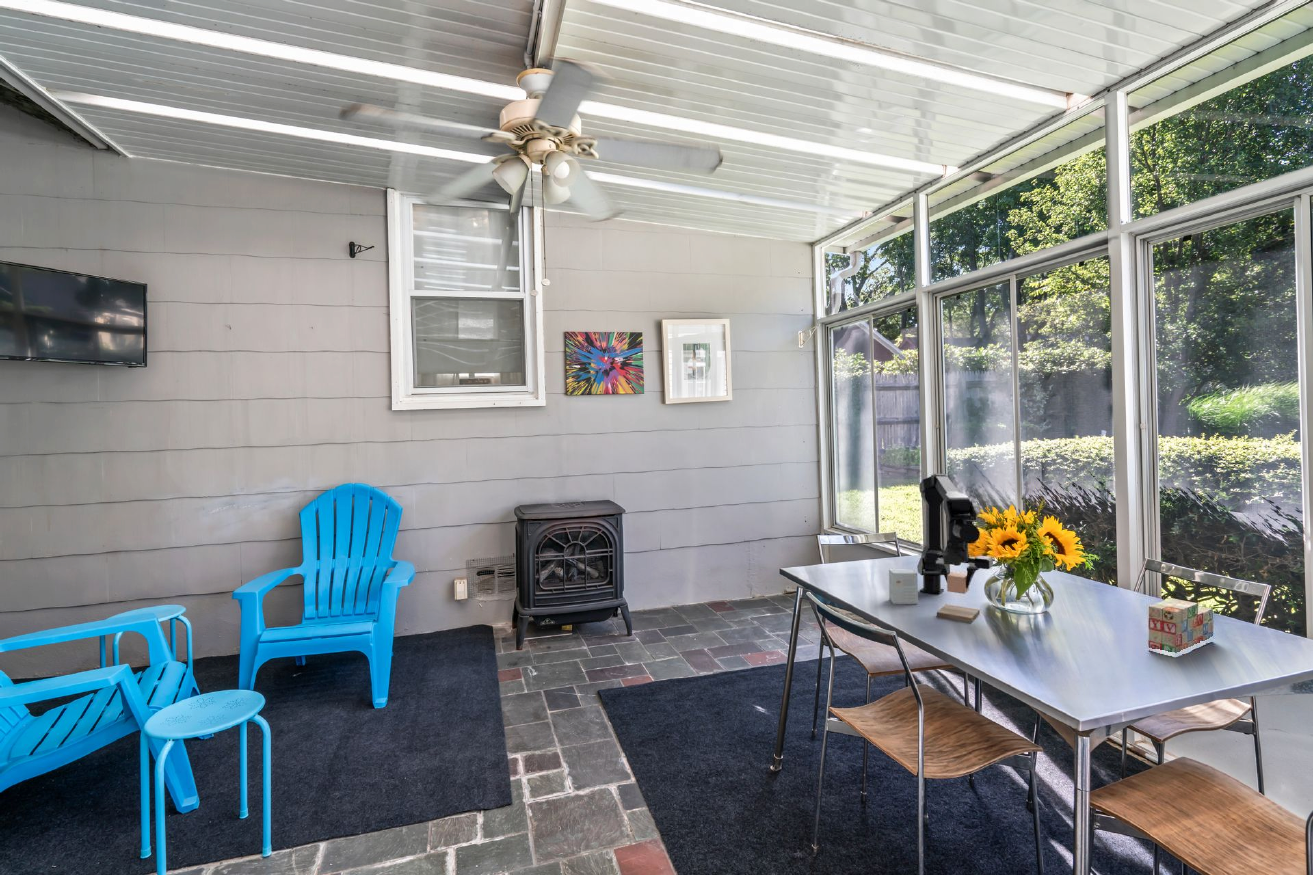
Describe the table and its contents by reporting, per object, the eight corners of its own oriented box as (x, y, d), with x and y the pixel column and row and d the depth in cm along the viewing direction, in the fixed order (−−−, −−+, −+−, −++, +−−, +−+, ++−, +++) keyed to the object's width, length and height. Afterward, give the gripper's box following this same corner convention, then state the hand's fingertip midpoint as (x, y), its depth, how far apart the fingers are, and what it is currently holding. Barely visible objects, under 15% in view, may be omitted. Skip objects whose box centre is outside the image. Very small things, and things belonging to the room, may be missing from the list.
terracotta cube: (951, 587, 205) (951, 571, 205) (968, 590, 202) (968, 574, 202) (947, 591, 201) (947, 575, 201) (964, 593, 198) (964, 577, 198)
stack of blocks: (1185, 635, 181) (1186, 592, 180) (1213, 642, 175) (1214, 597, 175) (1147, 651, 170) (1148, 604, 170) (1176, 659, 165) (1176, 611, 164)
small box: (913, 599, 220) (913, 568, 220) (918, 604, 214) (918, 572, 214) (888, 599, 221) (888, 568, 220) (893, 604, 215) (892, 572, 215)
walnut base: (945, 610, 209) (945, 604, 209) (979, 615, 203) (979, 609, 203) (936, 618, 201) (936, 612, 201) (971, 624, 195) (971, 617, 195)
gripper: (918, 538, 201) (918, 587, 201) (984, 544, 189) (984, 597, 190) (929, 532, 209) (929, 580, 210) (993, 538, 198) (993, 589, 198)
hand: (958, 586), depth 202 cm, fingers closed on terracotta cube, 5 cm apart
